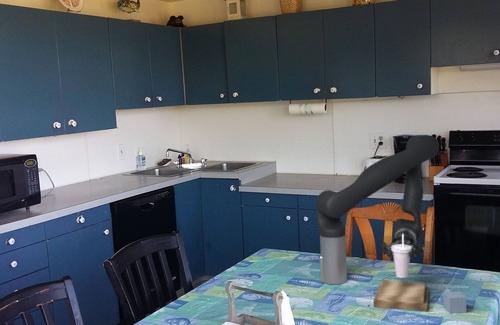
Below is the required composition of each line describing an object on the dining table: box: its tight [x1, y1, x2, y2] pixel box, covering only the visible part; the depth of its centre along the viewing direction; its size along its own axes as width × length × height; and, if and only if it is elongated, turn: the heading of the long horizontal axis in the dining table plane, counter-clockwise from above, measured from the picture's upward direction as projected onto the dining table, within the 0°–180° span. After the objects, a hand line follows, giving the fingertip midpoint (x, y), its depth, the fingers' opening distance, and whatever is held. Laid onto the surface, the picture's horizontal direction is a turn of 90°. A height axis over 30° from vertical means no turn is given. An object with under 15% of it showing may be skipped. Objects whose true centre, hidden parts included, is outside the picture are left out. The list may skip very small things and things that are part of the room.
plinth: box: [373, 279, 430, 313], centre depth 170 cm, size 16×16×4 cm
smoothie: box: [391, 234, 412, 279], centre depth 169 cm, size 6×6×14 cm
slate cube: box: [442, 290, 467, 315], centre depth 160 cm, size 5×5×5 cm
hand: (400, 255), depth 166 cm, fingers closed on smoothie, 6 cm apart
